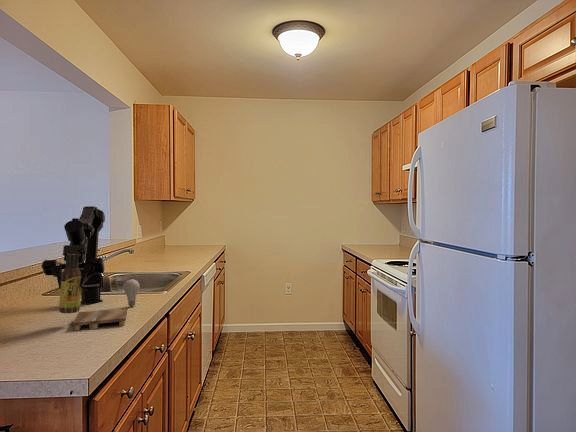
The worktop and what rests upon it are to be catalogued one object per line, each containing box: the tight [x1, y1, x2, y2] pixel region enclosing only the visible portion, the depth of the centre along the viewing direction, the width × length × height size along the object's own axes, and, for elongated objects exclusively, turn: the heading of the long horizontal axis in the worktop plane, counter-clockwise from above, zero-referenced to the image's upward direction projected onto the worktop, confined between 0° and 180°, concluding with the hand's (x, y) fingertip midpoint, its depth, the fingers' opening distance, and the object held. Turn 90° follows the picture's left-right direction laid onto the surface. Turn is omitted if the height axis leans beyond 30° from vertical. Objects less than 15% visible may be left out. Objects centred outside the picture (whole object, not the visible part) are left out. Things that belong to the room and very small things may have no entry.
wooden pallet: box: [71, 307, 128, 331], centre depth 137 cm, size 16×14×2 cm
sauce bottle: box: [58, 254, 82, 314], centre depth 134 cm, size 6×6×20 cm
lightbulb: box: [122, 278, 141, 308], centre depth 159 cm, size 6×6×11 cm
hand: (70, 287), depth 132 cm, fingers closed on sauce bottle, 6 cm apart
